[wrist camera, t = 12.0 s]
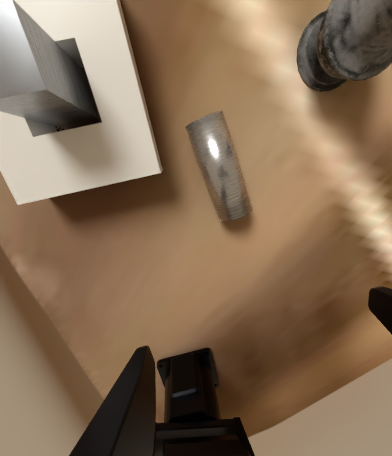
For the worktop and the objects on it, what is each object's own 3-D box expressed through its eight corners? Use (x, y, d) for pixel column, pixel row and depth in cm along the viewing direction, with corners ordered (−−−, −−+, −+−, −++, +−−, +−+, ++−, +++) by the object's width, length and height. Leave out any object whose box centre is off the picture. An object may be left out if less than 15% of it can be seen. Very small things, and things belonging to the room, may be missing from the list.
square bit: (105, 122, 16) (46, 89, 9) (66, 129, 16) (-27, 103, 9) (91, 77, 15) (10, -3, 8) (50, 85, 15) (-72, 11, 8)
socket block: (162, 170, 18) (160, 173, 14) (47, 196, 17) (17, 204, 14) (117, -12, 14) (99, -65, 10) (-35, 17, 13) (-102, -30, 10)
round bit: (235, 205, 20) (259, 206, 18) (212, 219, 19) (235, 222, 16) (207, 120, 18) (230, 107, 15) (178, 130, 16) (199, 117, 14)
